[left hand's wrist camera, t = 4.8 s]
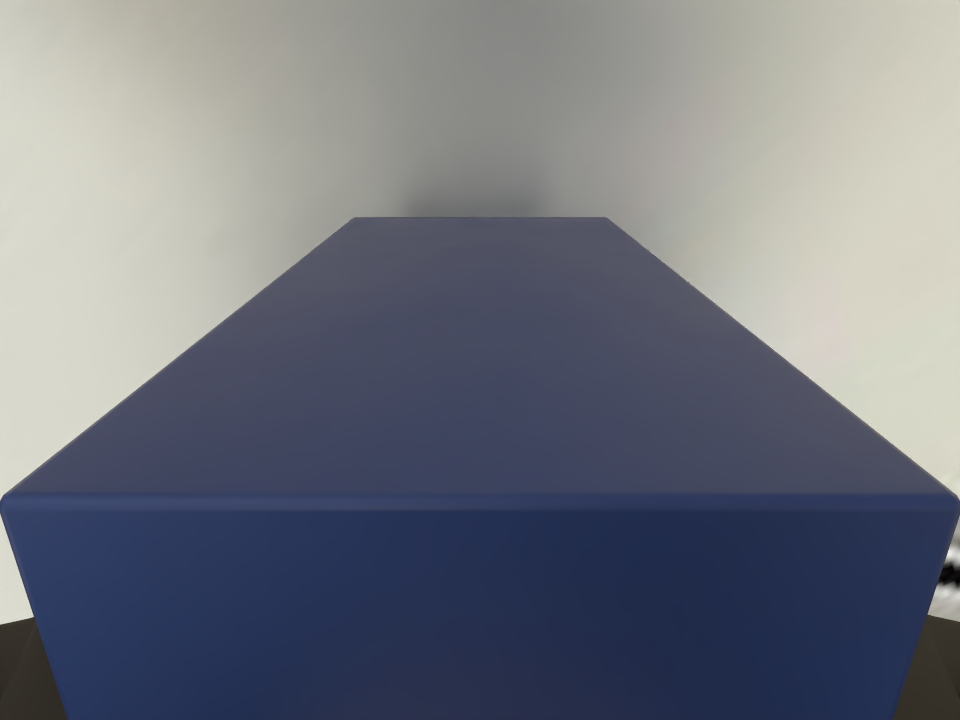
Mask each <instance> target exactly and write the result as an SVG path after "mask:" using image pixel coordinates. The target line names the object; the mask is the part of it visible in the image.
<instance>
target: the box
mask: <svg viewBox="0 0 960 720" xmlns="http://www.w3.org/2000/svg"><path fill="white" fill-rule="evenodd" d="M0 514H1V517H2V520H3V523H4V526H5V529H6V532H7V535H8V538H9V541H10V545H11V548H12V551H13V554H14V557H15V560H16V563H17V566H18V569H19V572H20V575H21V578H22V581H23V584H24V587H25V590H26V594H27V597H28V600H29V603H30V606H31V609H32V612H33V615H34V618H35V621H36V624H37V627H38V630H39V633H40V636H41V639H42V643H43V646H44V649H45V652H46V655H47V658H48V661H49V664H50V667H51V670H52V673H53V676H54V679H55V682H56V685H57V688H58V692H59V695H60V698H61V701H62V704H63V707H64V710H65V713H66V716H67V719H68V720H893V718H894V715H895V712H896V708H897V705H898V702H899V699H900V696H901V693H902V690H903V687H904V684H905V681H906V678H907V675H908V672H909V669H910V666H911V663H912V660H913V657H914V653H915V650H916V647H917V644H918V641H919V638H920V635H921V632H922V629H923V626H924V623H925V620H926V617H927V614H928V611H929V608H930V605H931V601H932V598H933V595H934V592H935V589H936V586H937V583H938V580H939V577H940V574H941V571H942V568H943V565H944V562H945V559H946V556H947V553H948V550H949V546H950V543H951V540H952V537H953V534H954V531H955V528H956V525H957V522H958V519H959V516H960V500H959V498H958V497H957V495H956V494H954V493H953V492H952V491H951V490H949V489H948V488H947V487H946V486H944V485H943V484H942V483H940V482H939V481H938V480H937V479H935V478H934V477H933V476H932V475H930V474H929V473H928V472H927V471H925V470H924V469H923V468H922V467H920V466H919V465H918V464H917V463H915V462H914V461H913V460H911V459H910V458H909V457H908V456H906V455H905V454H904V453H903V452H901V451H900V450H899V449H898V448H896V447H895V446H894V445H893V444H891V443H890V442H889V441H888V440H886V439H885V438H884V437H883V436H881V435H880V434H879V433H877V432H876V431H875V430H874V429H872V428H871V427H870V426H869V425H867V424H866V423H865V422H864V421H862V420H861V419H860V418H859V417H857V416H856V415H855V414H854V413H852V412H851V411H850V410H848V409H847V408H846V407H845V406H843V405H842V404H841V403H840V402H838V401H837V400H836V399H835V398H833V397H832V396H831V395H830V394H828V393H827V392H826V391H825V390H823V389H822V388H821V387H819V386H818V385H817V384H816V383H814V382H813V381H812V380H811V379H809V378H808V377H807V376H806V375H804V374H803V373H802V372H801V371H799V370H798V369H797V368H796V367H794V366H793V365H792V364H791V363H789V362H788V361H787V360H785V359H784V358H783V357H782V356H780V355H779V354H778V353H777V352H775V351H774V350H773V349H772V348H770V347H769V346H768V345H767V344H765V343H764V342H763V341H762V340H760V339H759V338H758V337H756V336H755V335H754V334H753V333H751V332H750V331H749V330H748V329H746V328H745V327H744V326H743V325H741V324H740V323H739V322H738V321H736V320H735V319H734V318H733V317H731V316H730V315H729V314H727V313H726V312H725V311H724V310H722V309H721V308H720V307H719V306H717V305H716V304H715V303H714V302H712V301H711V300H710V299H709V298H707V297H706V296H705V295H704V294H702V293H701V292H700V291H699V290H697V289H696V288H695V287H693V286H692V285H691V284H690V283H688V282H687V281H686V280H685V279H683V278H682V277H681V276H680V275H678V274H677V273H676V272H675V271H673V270H672V269H671V268H670V267H668V266H667V265H666V264H664V263H663V262H662V261H661V260H659V259H658V258H657V257H656V256H654V255H653V254H652V253H651V252H649V251H648V250H647V249H646V248H644V247H643V246H642V245H641V244H639V243H638V242H637V241H635V240H634V239H633V238H632V237H630V236H629V235H628V234H627V233H625V232H624V231H623V230H622V229H620V228H619V227H618V226H617V225H615V224H614V223H613V222H612V221H610V220H609V219H608V218H605V217H355V218H353V219H352V220H350V221H349V222H348V223H347V224H345V225H344V226H343V227H342V228H340V229H339V230H338V231H337V232H335V233H334V234H333V235H331V236H330V237H329V238H328V239H326V240H325V241H324V242H323V243H321V244H320V245H319V246H318V247H316V248H315V249H314V250H313V251H311V252H310V253H309V254H307V255H306V256H305V257H304V258H302V259H301V260H300V261H299V262H297V263H296V264H295V265H294V266H292V267H291V268H290V269H289V270H287V271H286V272H285V273H283V274H282V275H281V276H280V277H278V278H277V279H276V280H275V281H273V282H272V283H271V284H270V285H268V286H267V287H266V288H265V289H263V290H262V291H261V292H259V293H258V294H257V295H256V296H254V297H253V298H252V299H251V300H249V301H248V302H247V303H246V304H244V305H243V306H242V307H241V308H239V309H238V310H237V311H235V312H234V313H233V314H232V315H230V316H229V317H228V318H227V319H225V320H224V321H223V322H222V323H220V324H219V325H218V326H217V327H215V328H214V329H213V330H211V331H210V332H209V333H208V334H206V335H205V336H204V337H203V338H201V339H200V340H199V341H198V342H196V343H195V344H194V345H193V346H191V347H190V348H189V349H187V350H186V351H185V352H184V353H182V354H181V355H180V356H179V357H177V358H176V359H175V360H174V361H172V362H171V363H170V364H168V365H167V366H166V367H165V368H163V369H162V370H161V371H160V372H158V373H157V374H156V375H155V376H153V377H152V378H151V379H150V380H148V381H147V382H146V383H144V384H143V385H142V386H141V387H139V388H138V389H137V390H136V391H134V392H133V393H132V394H131V395H129V396H128V397H127V398H126V399H124V400H123V401H122V402H120V403H119V404H118V405H117V406H115V407H114V408H113V409H112V410H110V411H109V412H108V413H107V414H105V415H104V416H103V417H102V418H100V419H99V420H98V421H96V422H95V423H94V424H93V425H91V426H90V427H89V428H88V429H86V430H85V431H84V432H83V433H81V434H80V435H79V436H78V437H76V438H75V439H74V440H72V441H71V442H70V443H69V444H67V445H66V446H65V447H64V448H62V449H61V450H60V451H59V452H57V453H56V454H55V455H54V456H52V457H51V458H50V459H48V460H47V461H46V462H45V463H43V464H42V465H41V466H40V467H38V468H37V469H36V470H35V471H33V472H32V473H31V474H30V475H28V476H27V477H26V478H24V479H23V480H22V481H21V482H19V483H18V484H17V485H16V486H14V487H13V488H12V489H11V490H9V491H8V492H7V493H6V494H4V495H3V497H2V499H1V501H0Z"/></svg>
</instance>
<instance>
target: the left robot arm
mask: <svg viewBox="0 0 960 720" xmlns="http://www.w3.org/2000/svg"><path fill="white" fill-rule="evenodd" d="M0 720H68V719H67V716H66V713H65V710H64V707H63V704H62V701H61V698H60V695H59V692H58V688H57V685H56V682H55V679H54V676H53V673H52V670H51V667H50V664H49V661H48V658H47V655H46V652H45V649H44V646H43V643H42V639H41V636H40V633H39V630H38V627H37V624H36V621H35V618H34V617H32V618H29V619H25V620H20V621H15V622H11V623H6V624H2V625H0ZM893 720H960V622H958V621H953V620H948V619H944V618H939V617H935V616H931V615H927V617H926V620H925V623H924V626H923V629H922V632H921V635H920V638H919V641H918V644H917V647H916V650H915V653H914V657H913V660H912V663H911V666H910V669H909V672H908V675H907V678H906V681H905V684H904V687H903V690H902V693H901V696H900V699H899V702H898V705H897V708H896V712H895V715H894V718H893Z"/></svg>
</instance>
